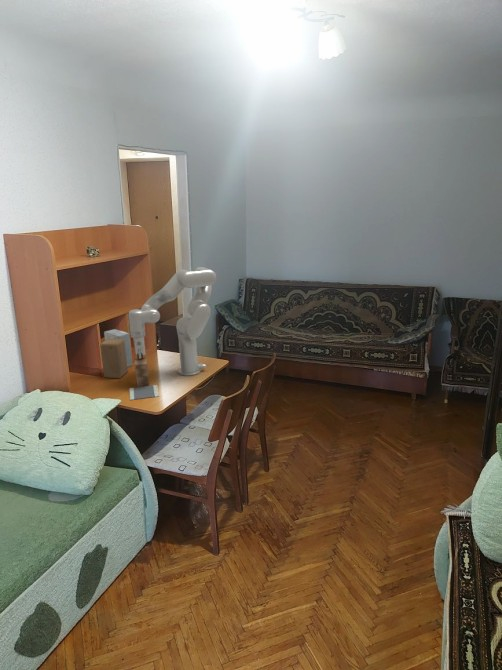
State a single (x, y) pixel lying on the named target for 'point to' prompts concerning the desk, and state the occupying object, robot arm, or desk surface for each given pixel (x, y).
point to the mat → (144, 392)
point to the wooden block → (114, 358)
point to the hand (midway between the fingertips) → (141, 366)
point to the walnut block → (141, 372)
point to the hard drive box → (123, 335)
